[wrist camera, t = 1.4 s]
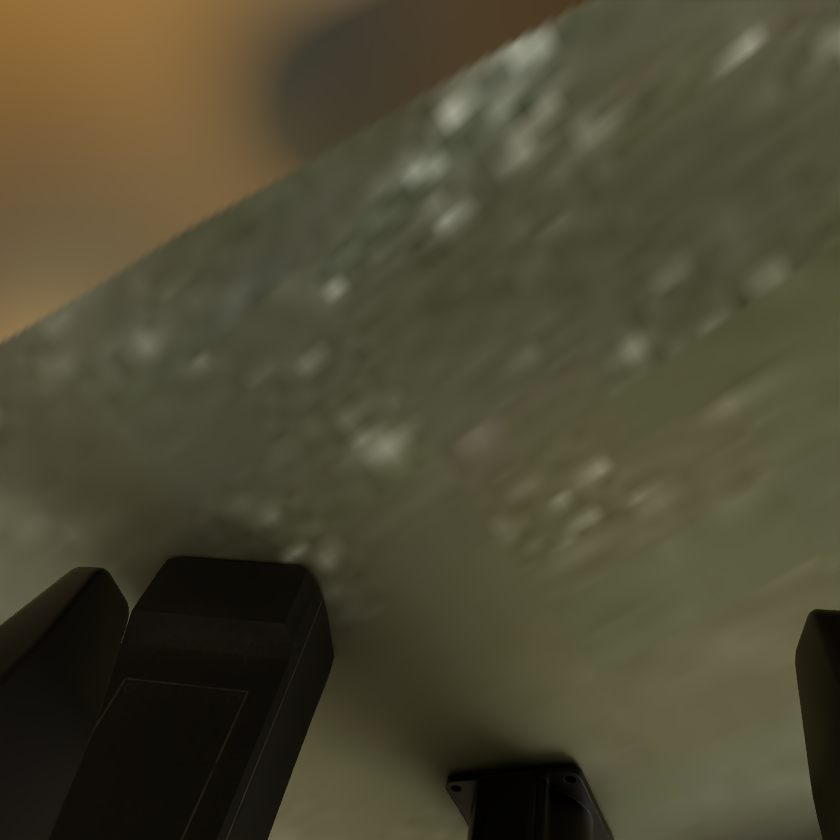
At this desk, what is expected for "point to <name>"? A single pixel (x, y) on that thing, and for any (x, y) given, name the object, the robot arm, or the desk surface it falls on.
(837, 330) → the desk surface
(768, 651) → the desk surface
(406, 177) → the desk surface
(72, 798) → the portable radio
